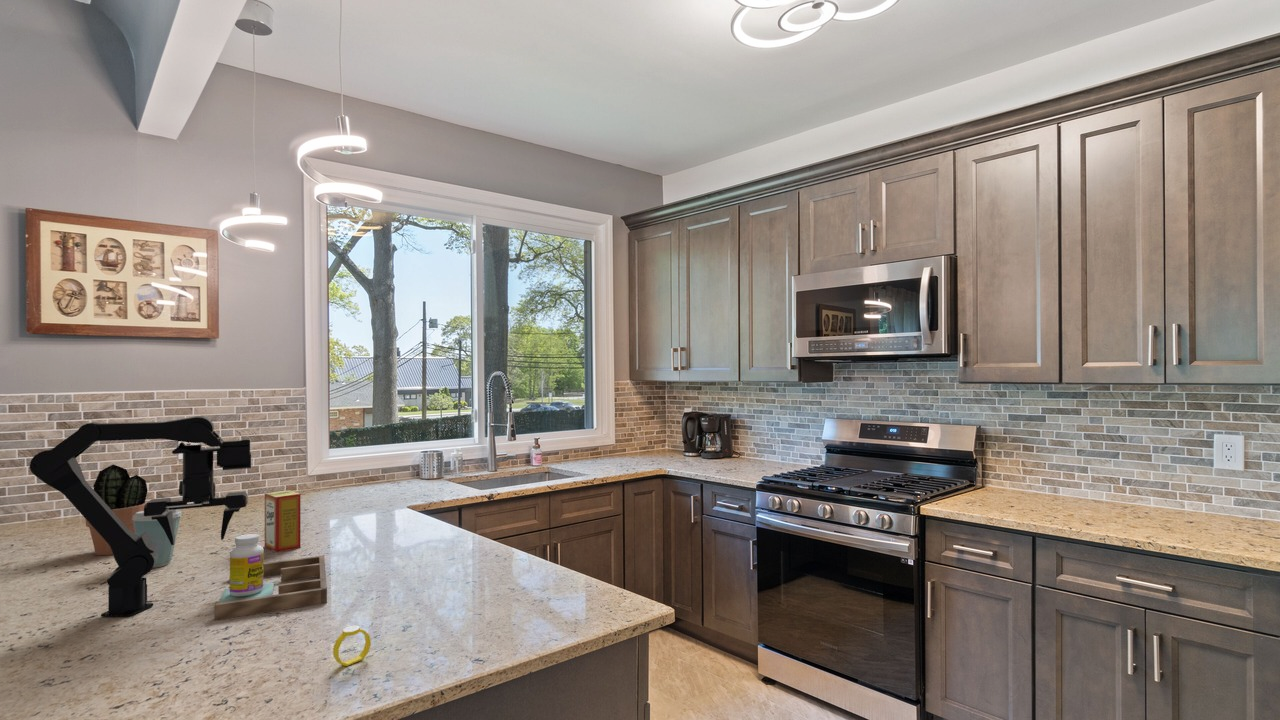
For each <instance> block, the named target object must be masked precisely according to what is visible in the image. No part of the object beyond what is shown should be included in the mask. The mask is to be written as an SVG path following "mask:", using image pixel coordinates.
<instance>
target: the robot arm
mask: <svg viewBox="0 0 1280 720" xmlns="http://www.w3.org/2000/svg"><path fill="white" fill-rule="evenodd" d="M214 429H215V425H214V423H213V421H212V420H211V419H210V418H209V417H208V416H205V415H204V416H203V415H197V416H190V417H184V418H178V419H173V420H166V421H144V422H142V421H141V422H136V421H135V422H103V423H102V422H96V421H93V422H88V423H84V424H83V425H81V426H80V427H79V428H78V429H77V430H76V431H75V432H73V433H72V434H71V435H69V436H68V437H66V438H65V439H64V440H62V441H61V442H60V443H58V444H57V445H55V446H54V447H52V448H48V449H45V450H42V451H41V452H38V453H37V454H35V455H34V456H33V457H32V458H31V459H30V462H29V466H28V467H29V470H30V472H31V474H32V475H34V476H35V477H36V478H37V479H39V480H40V481H42V482H43V483H44V484H46V485H47V486H49V487H51V488H53V489H54V490H56V491H58V492H59V493H61V494H63V496H65V498H66V499H67V500H68V501H69V502H70V503H71V505H72V506H73V507H74V508H75V509H76V510H77V511H78V512H79V514H80V515H81V516H82V517H83V518H84V519H85V521H86V520H87V521H88V522H89V523H90V524H91V525H92V527H93V528H94V529H95V530H96V531H97V532H98V533H99V534H100V535H101V537H102V538H103V539H104V540H105V541H106V542H107V543H108V544H109V546H110V548H111V551H112V553H113V555H112V556H113V558H114V561H115V562H116V564H117V567H116V568H115V569H114V570H113V572H112V573H111V574H110V575H109V577H108V578H107V580H106V583H107V586H108V592H107V593H108V597H107V599H108V601H107V602H108V603H107V605H108V606H107V607H108V609H107V611H105V612H102V613H101V614H100V617H132V616H134V615H136V614H138V613H141V612H143V611H145V610H147V609H149V608H152V607H153V606H154V603H153V602H149V603H148V584H147V577H144V576H146V575H148V573H150V572H151V571H152V569H154V568H153V566H154V564H155V562H156V561H157V558H158V551H157V549H156V547H157V546H158V545H157V544H155V543H153V542H152V541H151V540H150V538H149V536H148V535H147V533H146V532H144V533H143V534H142V535H140V536H138V535H136V534H134V533H132V532H131V531H130V530H129V529H128V528H127V527H126V526H125V525H124V524H123V523H122V521H121V520H120V519H119V518H118V517H117V516H116V515H115V513H114V512H113V511H112V510H111V509H110V508H109V507H108V505H107V504H106V503H105V502H104V501H103V500H102V499H101V498H100V496H99V495H98V494H97V493H96V492H95V491H94V487H93V488H92V486H91V485H90V484H89V483H88V481H87V480H86V478H85V476H84V473H83V472H82V471H83V470H82V467H81V466H80V464H79V462H78V461H77V458H78V457H79V456H81V454H83V453H84V452H86V450H88V448H90V447H91V446H92V445H94V444H95V443H96V442H106V441H107V442H108V441H110V442H111V441H113V442H114V441H136V440H137V441H139V440H141V441H142V440H167V441H168V440H169V441H175V442H180V443H179V444H178V445H177V447H176V448H174V449H173V450H172V452H171V453H172V454H173V455H177V454H178V455H180V454H182V480H180V481H179V486H178V495H179V496H180V497H182V500H172V499H171V497H165V498H153V499H149V501H147V502H146V504H145V506H144V516H152V517H151V519H152V520H154V519H156V520H157V521H158V522H159V523H160V525H161V526H162V528H163V529H164V531H165V533H166V535H167V537H168V539H169V541H170V543H171V545H174V543H175V544H176V541H175V535H174V527H173V511H170V510H175V509H180V510H184V509H197V508H209V507H221V506H225V508H224V510H223V514H222V522H221V531H220V540H221V541H223V540H224V539H225V536H226V533H227V530H228V527H229V525H230V521H231V519H232V518H233V516H234V513H237V512H240V510H241V509H242V508H247V505H248V502H249V499H248V497H249V495H248V493H247V492H246V491H237V492H228V493H227V494H226V495H225V496H220V497H216V484H215V481H214V452H216V467H220V468H222V471H232V470H233V471H234V470H247V469H248V470H249V469H252V452H251V439H249V438H244V439H243V438H242V439H239V440H223V439H222V436H220V435H219V434H217V433H216V431H215V430H214ZM186 443H189V445H188V444H186ZM190 443H191V444H190ZM192 443H193V444H192ZM201 443H202V444H204V445H206V446H209V448H206V447H205V448H203V445H202V444H201ZM174 546H175V545H174Z"/></svg>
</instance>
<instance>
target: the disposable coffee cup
mask: <svg viewBox="0 0 1280 720" xmlns="http://www.w3.org/2000/svg"><path fill="white" fill-rule="evenodd" d="M170 511H173V527H174V535H175V543H174V545H171V543H170V541H169V539H168V537H167V535H166V533H165V531H164V529H163V528H162V526H161V525H160V523H159V522H158V521H157V520H156V519H154V520H152V519H151V517H152V516H144V511H140V512H137V513H135V515H133V519H132V520H133V522H134V529H135V534H136V535H138V536H140V535H142V534H143V533H144V532H146V533H147V535H148V536H149V538H150V540H151V541H152V542H153V543H155V544H157V545H158V546H157V547H156V549H157V551H158V558H157V561H156V562H155V564H154V566H153V568H152V569H155V568H156V569H157V568H162V567H165V566H168V565H170V564H171V561H172V560H173V555H174V554H173V553H174V550H175V546H176V545H175V544H176V541H177V536H178V530H179V526H180V520H181V516H183V513H182V511H181V509H175V510H170Z"/></svg>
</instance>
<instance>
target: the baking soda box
mask: <svg viewBox="0 0 1280 720" xmlns="http://www.w3.org/2000/svg"><path fill="white" fill-rule="evenodd" d="M264 547H265V548H266V549H269V550H270V551H273V552H275V553H279V552H285V551H291V550H295V549H300V548H301V493H299V492H295V491H293V490H289V489H288V490H287V489H286V490H281V491H273V492H267V493H264Z"/></svg>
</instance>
